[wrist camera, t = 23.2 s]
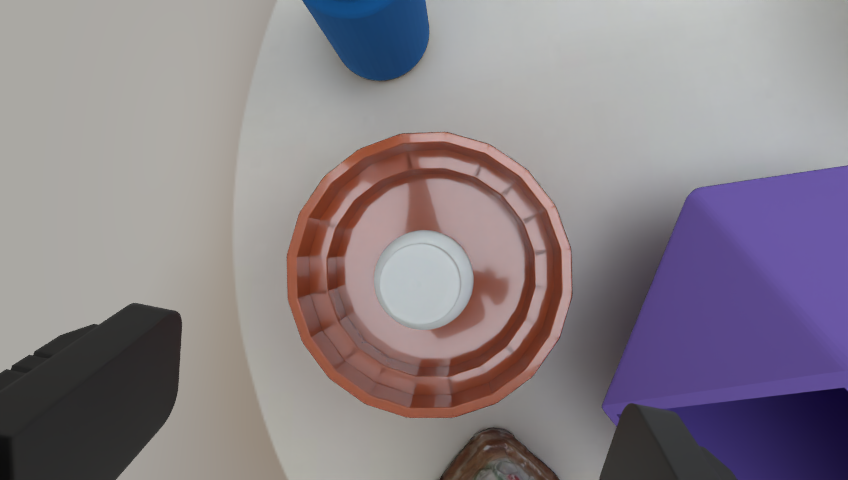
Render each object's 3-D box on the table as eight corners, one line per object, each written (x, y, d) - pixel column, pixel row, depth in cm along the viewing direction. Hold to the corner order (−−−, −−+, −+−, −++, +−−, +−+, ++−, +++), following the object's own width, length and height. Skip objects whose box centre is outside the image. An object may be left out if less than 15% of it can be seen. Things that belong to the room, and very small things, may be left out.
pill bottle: (487, 262, 35) (497, 270, 25) (441, 329, 35) (434, 362, 26) (420, 216, 35) (404, 206, 26) (375, 282, 36) (342, 297, 26)
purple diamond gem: (561, 250, 39) (486, 376, 21) (839, 59, 30) (1104, 4, 13) (758, 498, 38) (850, 851, 20) (1105, 375, 29) (1812, 807, 11)
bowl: (318, 389, 37) (290, 418, 31) (312, 155, 37) (283, 137, 31) (556, 388, 36) (576, 417, 30) (550, 146, 36) (568, 126, 30)
